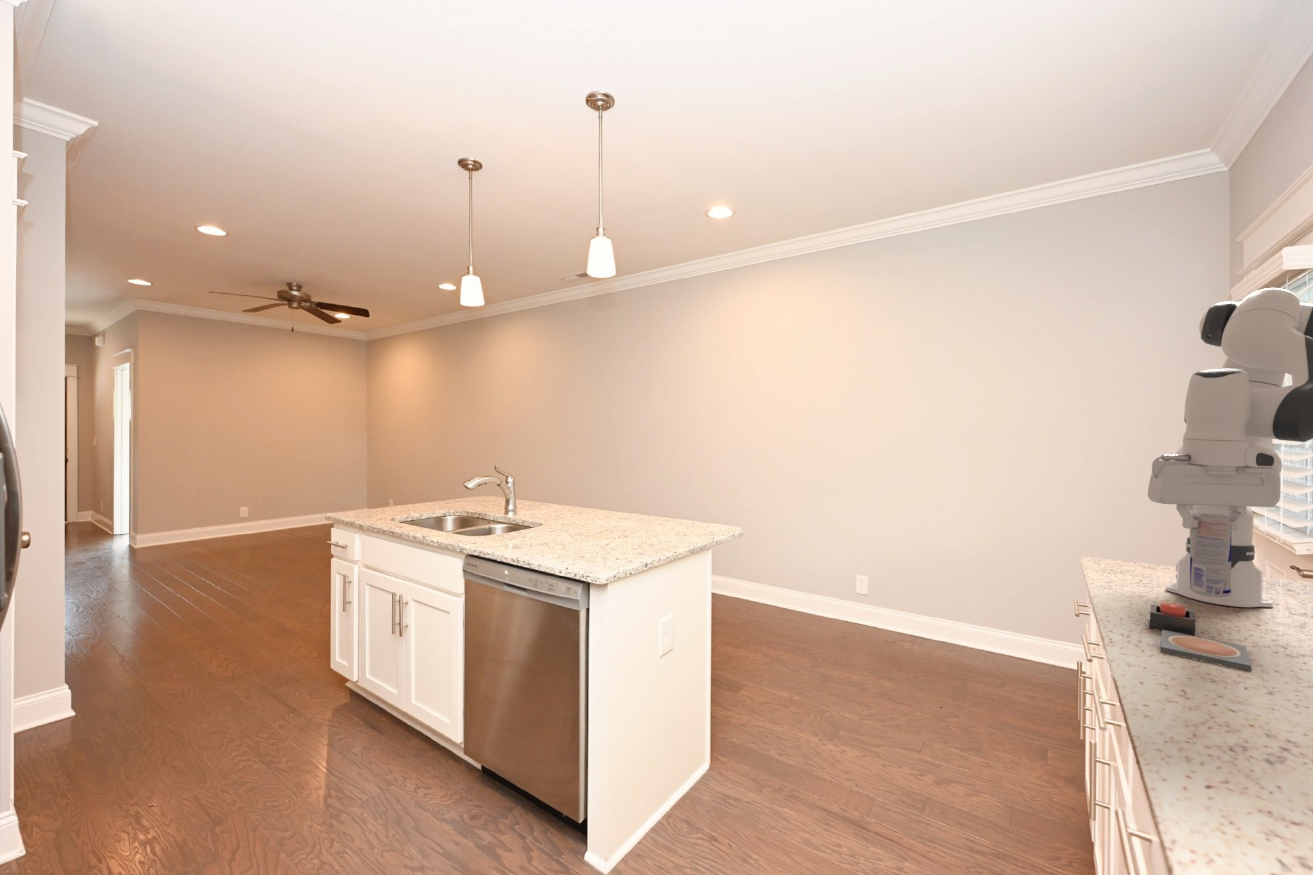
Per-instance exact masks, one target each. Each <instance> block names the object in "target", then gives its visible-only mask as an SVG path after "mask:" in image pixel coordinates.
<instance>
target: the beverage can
mask: <svg viewBox="0 0 1313 875" xmlns="http://www.w3.org/2000/svg"><path fill="white" fill-rule="evenodd" d="M1191 515H1192V516H1193V518H1194V519H1196V520H1199V523H1198V529H1189V535H1190V589H1191V590H1192V591H1193V592H1195V593H1197V594H1201V595H1205V596H1210V597H1227V596H1229V595H1231V530H1232V522H1231V520H1230V519H1231V517H1230V516H1226V515H1220V514H1208V513H1193V514H1191Z"/></svg>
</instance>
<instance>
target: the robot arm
mask: <svg viewBox="0 0 1313 875" xmlns="http://www.w3.org/2000/svg"><path fill="white" fill-rule="evenodd" d="M1198 329H1199V333H1200V339H1201V340H1202V341H1203V342H1204V344H1207V345H1209V346H1215V347H1218V348H1221V349H1222V352H1223V353H1224V355H1225V356H1226V360H1225V362H1224V363H1223V366H1222V368H1210V369H1204V370H1199V371H1197V372H1195V373H1192V375H1191V376H1190V379H1189V383H1188V387H1187V390H1186V391H1187V392H1186V396H1185V403H1184V404H1185V405H1184V414H1183V416H1184V417H1183V418H1184V423H1185V425H1186V428H1185V432H1184V434H1183V436H1182V438H1183V439H1182V445H1181V446H1180V448H1178V449H1177V451H1176V452H1175V454H1162V455H1160V456H1159V457H1156V458H1155V459H1154V460H1153V461H1152V464H1151V474H1150V477H1149V478H1150V479H1149V483H1148V488H1147V498H1148V499H1149V500H1150V501H1151V502H1153V503H1157V504H1162V505H1176V507H1175V508H1176V509H1175V510H1177V512H1178V514H1179V515H1180V517H1181V519H1182V525H1181V526H1182V528H1185V529H1186V530H1187V529H1189V530H1190V529H1198V523H1199V520H1196V519H1194V518H1193V516H1192V515H1191V514H1193V513H1208V514H1220V515H1226V516H1230V517H1231V519H1230V520H1231V522H1232V530H1231V595H1229V596H1227V597H1210V596H1205V595H1201V594H1197V593H1195V592H1193V591H1192V590H1191V589H1190V534H1189V536H1188V537H1187V538H1186V543H1185V546H1186V548H1185V549H1186V550H1185V551H1186V552H1187V553H1186V554H1185V555H1184V556H1182V557H1181V558H1180V559H1178V560H1177V562H1176V565H1175V572H1176V574H1175V580H1174V581H1173V582H1171V583H1169V584H1168V585H1166V587H1165V590H1166V591H1167V592H1170V593H1175V594H1177V595H1181V596H1182V597H1183V596H1184V597H1186V598H1190V599H1194V600H1195V601H1201V602H1205V603H1210V604H1214V605H1215V604H1216V605H1219V606H1220V605H1222V606H1227V607H1228V606H1229V607H1238V608H1258V607H1259V608H1273V607H1274V605H1273V604H1274V603H1273V602H1272V601H1271V600H1269V599H1268V598H1266V597H1265V596H1263V570H1261V568H1259V567H1258V566H1257V565H1256V564H1255V563H1254V562H1253V561H1254V560H1255V555H1256V550H1255V545H1254V544H1253V536H1254V535H1253V534H1254V518H1255V516H1254V511H1253V509H1252V508H1251V507H1253V508H1257V507H1258V508H1273V507H1274V508H1275V506H1276V505H1277V504H1278V503H1279V501H1280V499H1281V475H1280V474H1281V473H1282V472H1281V471H1282V469H1283V463H1282V459H1281V457H1280V455H1279V454H1278V453H1277V451H1276V449H1275V448H1274V444H1273V443H1274V442H1273V440H1278V441H1286V442H1298V443H1306V442H1309V441H1311V440H1313V304H1311V303H1304V302H1303V303H1302V302H1301V301H1300V299H1299V297H1298V296H1297V295H1296V294H1295V293H1293V292H1292V291H1290V290H1286V289H1283V288H1278V287H1271V288H1270V287H1269V288H1263V289H1260V290H1259V289H1258V290H1256V291H1254V292H1251V294H1249V295H1247V296H1246V297H1244V298H1243V299H1242V301H1239V302H1237V301H1236V302H1234V300H1231V301H1230V300H1229V301H1223V302H1218V303H1215V304H1213V305H1212V306H1210V307H1209V308H1208V310H1207V311H1205V313H1203V316H1201V319H1200V322H1199V326H1198ZM1286 374H1288V375H1291V381H1292V383H1291V385H1287V386H1286V385H1285V386H1283V384H1284V381H1285V376H1286Z"/></svg>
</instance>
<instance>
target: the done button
mask: <svg viewBox="0 0 1313 875" xmlns="http://www.w3.org/2000/svg"><path fill="white" fill-rule="evenodd" d="M1159 606H1160V613H1164V614H1169V615H1175V616H1181V617H1185V615H1186V610H1187V607H1185V606H1184V605H1180V604H1177V603H1171V602H1160V605H1159Z"/></svg>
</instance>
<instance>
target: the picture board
mask: <svg viewBox="0 0 1313 875" xmlns="http://www.w3.org/2000/svg"><path fill="white" fill-rule="evenodd" d="M1160 635H1161V637H1160V648H1159V649H1160V650H1159V652H1160V653H1164V654H1170V655H1172V654H1174V655H1173V656H1177V655H1178V656H1179V657H1182V656H1185V657H1184V658H1186V657H1188V658H1187V659H1191V658H1195V659H1194V660H1196V659H1197V661H1200V660H1203V661H1202V662H1205V661H1207V662H1206V663H1210V662H1212V663H1211V664H1215V665H1219V664H1221V665H1220V666H1225V667H1230V668H1234V669H1238V670H1242V669H1243V670H1244V671H1248V672H1252V663H1251V660H1250V656H1249V653H1248V650H1247V646H1246V645H1243V644H1238V643H1232V642H1228V641H1223V640H1218V639H1212V638H1208V637H1201V636H1196V635H1195V636H1193V635H1187V634H1182V633H1177V632H1172V631H1167V630H1162V631H1161V634H1160Z"/></svg>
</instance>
